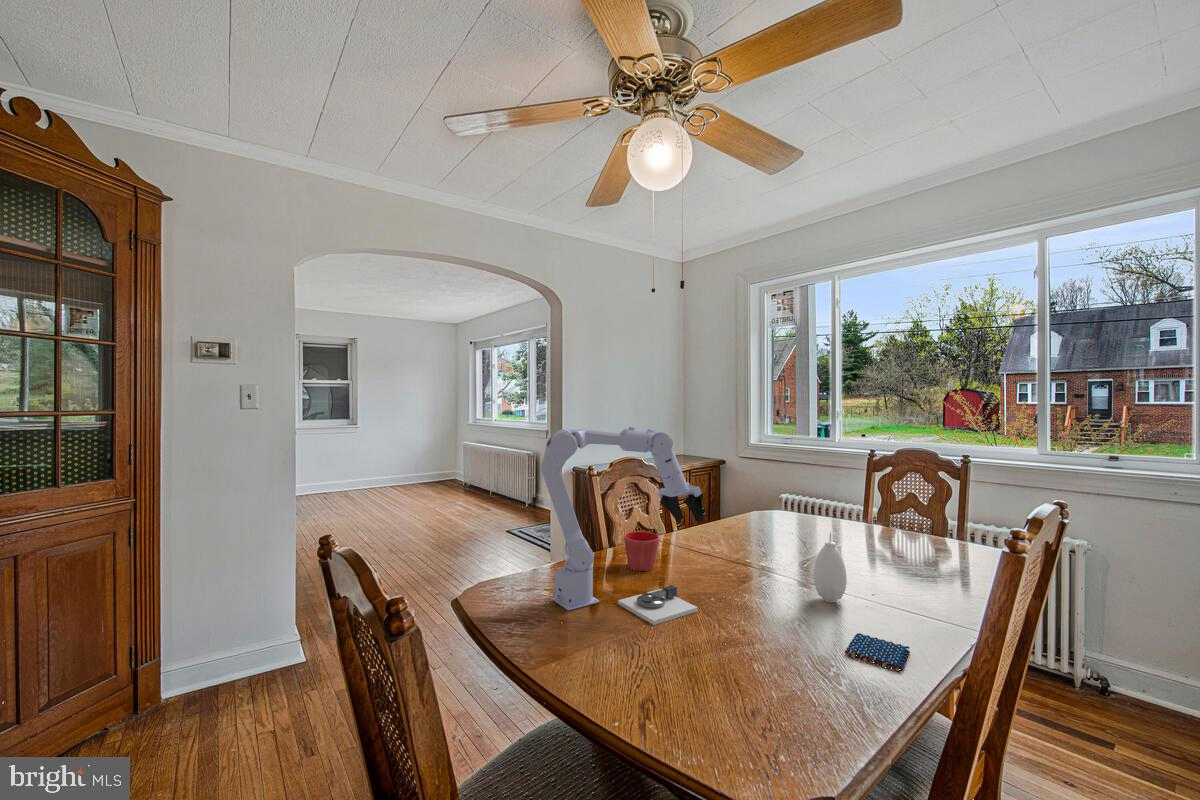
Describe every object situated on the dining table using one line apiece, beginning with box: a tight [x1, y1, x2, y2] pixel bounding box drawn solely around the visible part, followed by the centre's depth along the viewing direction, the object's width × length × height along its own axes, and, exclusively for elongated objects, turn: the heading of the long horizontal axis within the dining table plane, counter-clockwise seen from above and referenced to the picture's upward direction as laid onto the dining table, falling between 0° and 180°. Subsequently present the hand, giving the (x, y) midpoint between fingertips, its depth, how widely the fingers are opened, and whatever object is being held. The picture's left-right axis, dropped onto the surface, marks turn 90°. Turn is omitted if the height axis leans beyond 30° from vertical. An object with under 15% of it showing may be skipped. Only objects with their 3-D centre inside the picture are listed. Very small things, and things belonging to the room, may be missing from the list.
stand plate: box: [617, 588, 699, 626], centre depth 126 cm, size 14×14×1 cm
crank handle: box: [637, 585, 678, 608], centre depth 127 cm, size 11×7×2 cm, turn 124°
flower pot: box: [623, 530, 660, 572], centre depth 156 cm, size 11×11×10 cm
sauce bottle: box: [812, 532, 848, 604], centre depth 131 cm, size 8×8×18 cm
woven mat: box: [844, 632, 911, 672], centre depth 104 cm, size 10×11×2 cm
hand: (690, 520), depth 135 cm, fingers open, 7 cm apart
